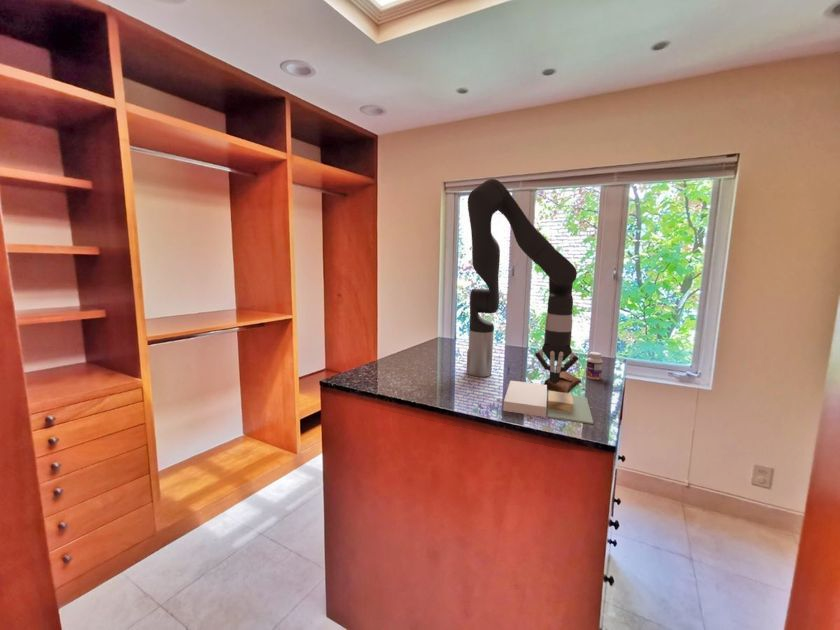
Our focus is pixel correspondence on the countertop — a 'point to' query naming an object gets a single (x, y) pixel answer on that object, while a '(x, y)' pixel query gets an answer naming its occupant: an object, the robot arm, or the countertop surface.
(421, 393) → the countertop surface
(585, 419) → the mat
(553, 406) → the birch tile
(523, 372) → the countertop surface
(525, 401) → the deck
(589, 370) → the pill bottle
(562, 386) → the sunglasses case
